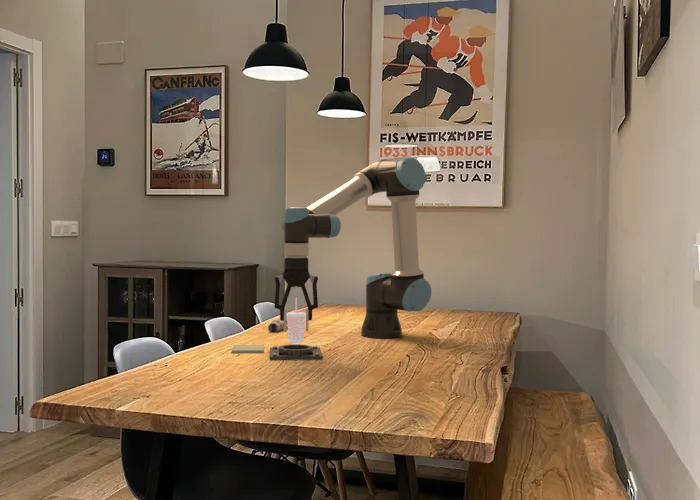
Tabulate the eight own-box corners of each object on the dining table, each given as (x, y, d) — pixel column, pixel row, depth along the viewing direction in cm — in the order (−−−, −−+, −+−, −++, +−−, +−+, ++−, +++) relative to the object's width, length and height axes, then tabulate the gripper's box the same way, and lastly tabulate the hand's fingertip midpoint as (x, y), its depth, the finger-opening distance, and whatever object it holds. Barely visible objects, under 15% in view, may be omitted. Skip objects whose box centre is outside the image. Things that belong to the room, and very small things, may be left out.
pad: (264, 347, 230) (264, 344, 230) (263, 352, 220) (263, 350, 220) (233, 347, 229) (233, 345, 229) (231, 353, 219) (231, 350, 219)
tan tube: (266, 322, 263) (291, 306, 286) (267, 339, 264) (292, 322, 287) (278, 323, 261) (303, 307, 284) (279, 340, 262) (304, 322, 286)
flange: (319, 350, 226) (319, 342, 226) (322, 359, 210) (322, 351, 210) (269, 350, 224) (270, 343, 224) (269, 359, 208) (269, 352, 208)
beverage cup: (290, 344, 213) (290, 298, 212) (283, 341, 218) (283, 296, 218) (309, 342, 216) (309, 297, 215) (301, 339, 221) (301, 295, 221)
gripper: (326, 256, 221) (325, 328, 222) (265, 256, 219) (265, 329, 220) (327, 257, 213) (327, 332, 214) (265, 257, 211) (265, 333, 212)
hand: (296, 330), depth 217 cm, fingers closed on beverage cup, 6 cm apart
